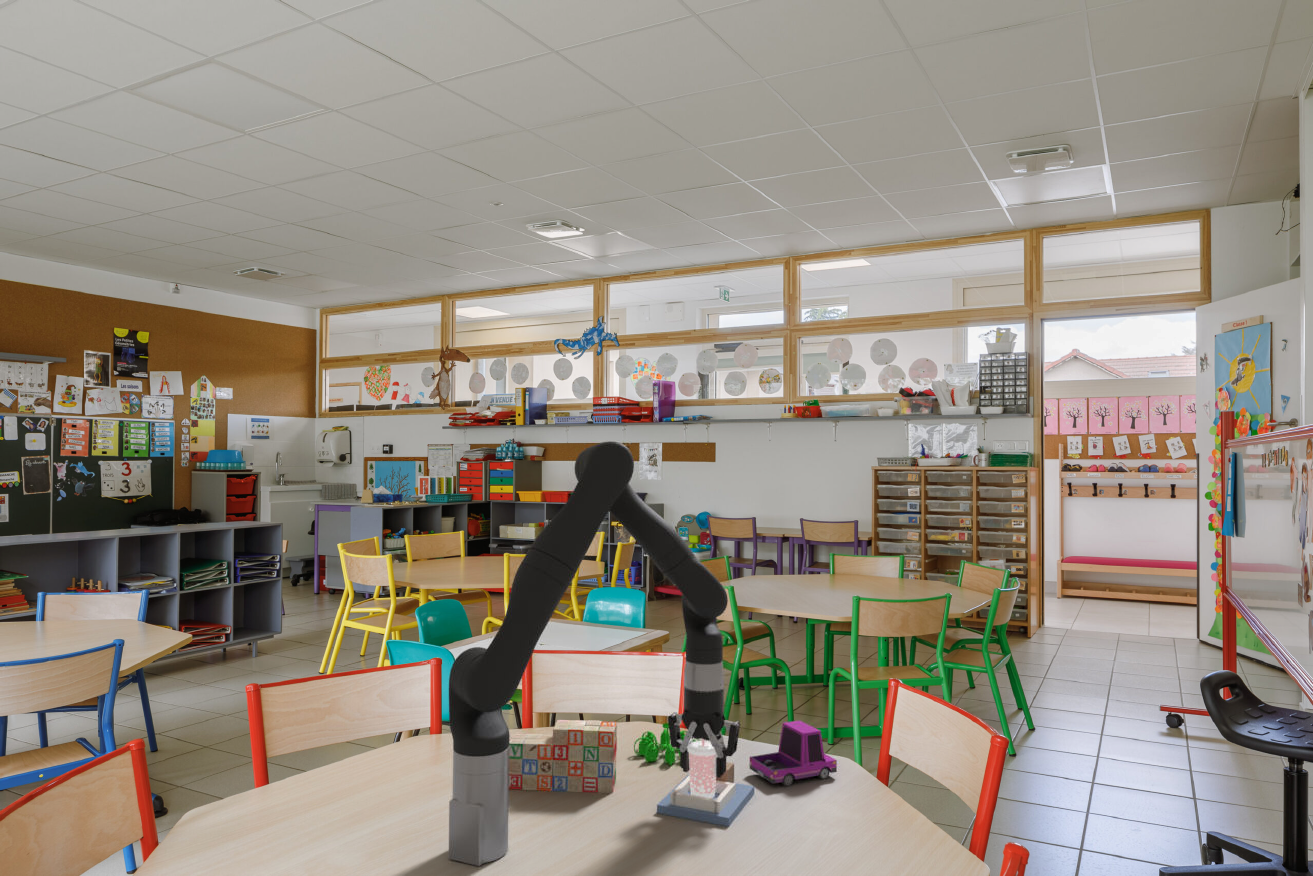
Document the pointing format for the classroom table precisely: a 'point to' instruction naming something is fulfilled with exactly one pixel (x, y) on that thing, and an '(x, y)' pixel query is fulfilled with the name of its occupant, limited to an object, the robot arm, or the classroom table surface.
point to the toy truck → (795, 756)
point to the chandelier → (650, 750)
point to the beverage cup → (702, 768)
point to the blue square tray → (708, 800)
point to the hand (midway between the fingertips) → (703, 773)
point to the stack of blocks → (565, 758)
